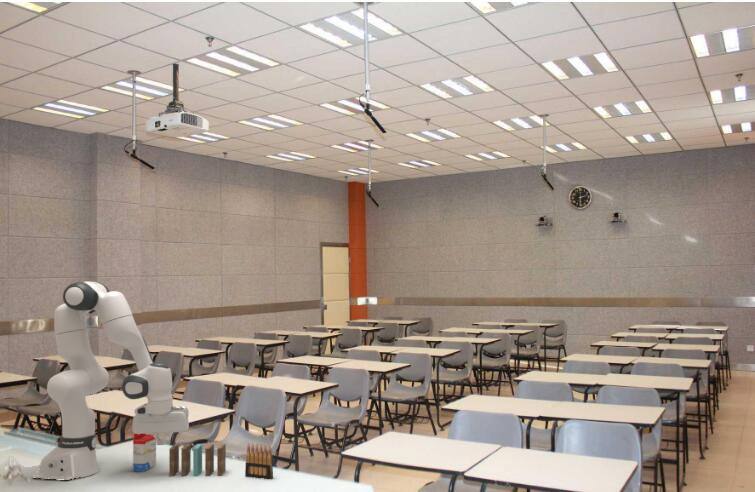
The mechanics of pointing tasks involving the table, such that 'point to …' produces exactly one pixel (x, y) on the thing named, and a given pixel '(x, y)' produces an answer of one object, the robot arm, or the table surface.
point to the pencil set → (259, 462)
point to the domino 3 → (197, 460)
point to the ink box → (144, 452)
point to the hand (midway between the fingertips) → (161, 444)
